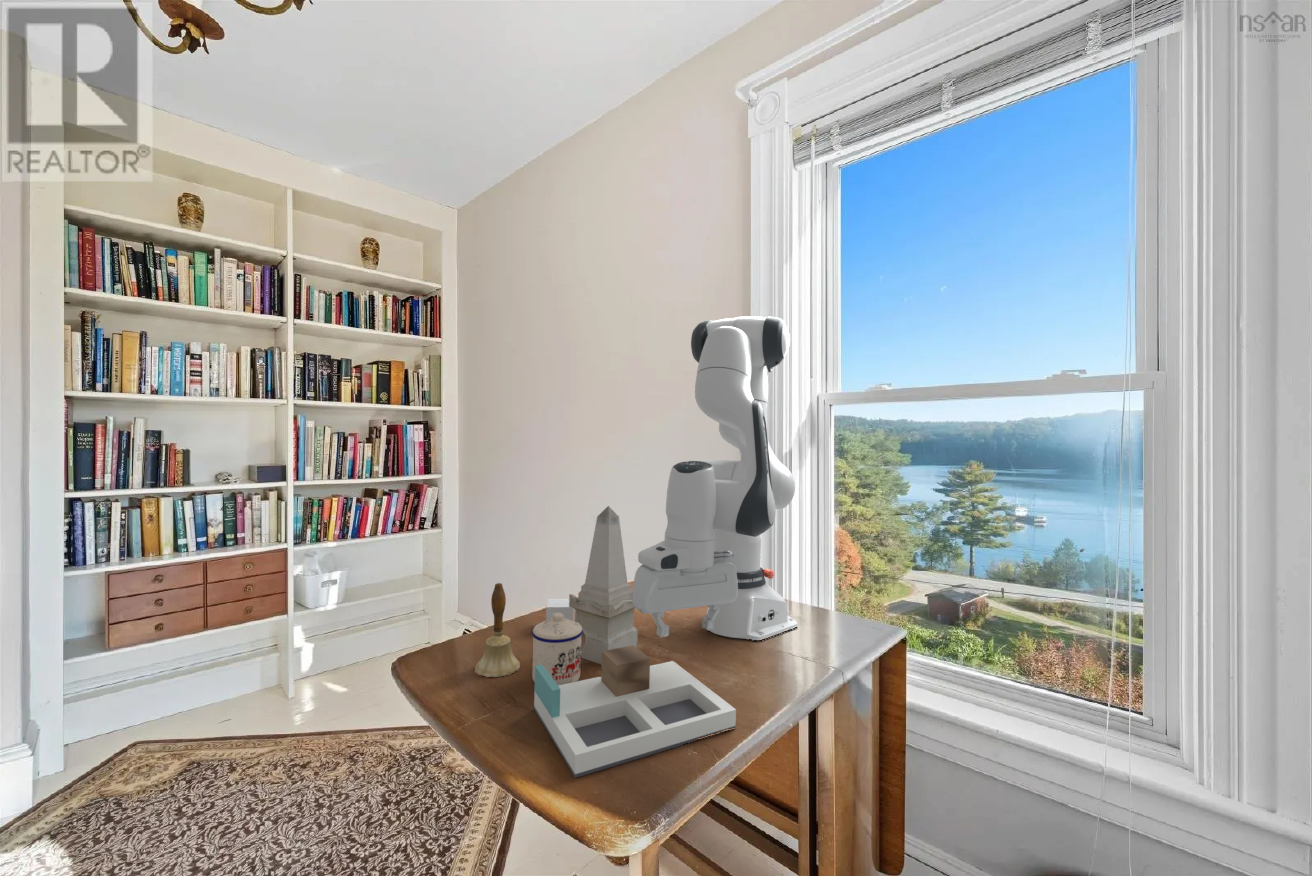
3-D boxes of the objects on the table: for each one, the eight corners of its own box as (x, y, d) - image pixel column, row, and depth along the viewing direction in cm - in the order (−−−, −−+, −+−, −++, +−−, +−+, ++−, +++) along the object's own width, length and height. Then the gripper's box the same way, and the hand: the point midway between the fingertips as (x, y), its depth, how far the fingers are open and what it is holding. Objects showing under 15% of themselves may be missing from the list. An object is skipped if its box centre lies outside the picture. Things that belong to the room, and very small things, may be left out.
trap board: (672, 677, 98) (673, 639, 98) (735, 728, 81) (736, 683, 81) (534, 709, 86) (535, 665, 85) (574, 778, 69) (576, 724, 69)
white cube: (547, 624, 123) (548, 598, 123) (573, 624, 124) (574, 598, 124) (545, 634, 117) (546, 607, 117) (573, 633, 118) (573, 606, 118)
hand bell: (515, 678, 96) (517, 590, 96) (468, 678, 95) (470, 590, 95) (523, 658, 104) (525, 577, 104) (480, 658, 104) (482, 577, 104)
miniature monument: (640, 650, 110) (644, 505, 109) (607, 668, 101) (612, 511, 101) (601, 638, 116) (605, 500, 115) (567, 654, 107) (571, 505, 106)
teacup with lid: (555, 695, 90) (557, 627, 90) (520, 679, 96) (521, 615, 95) (602, 670, 100) (604, 609, 100) (568, 657, 105) (570, 599, 105)
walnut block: (633, 673, 92) (633, 645, 92) (649, 688, 87) (650, 658, 87) (601, 680, 89) (601, 651, 89) (615, 696, 84) (616, 665, 84)
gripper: (725, 546, 101) (723, 619, 101) (629, 553, 91) (626, 633, 91) (746, 553, 96) (743, 630, 96) (647, 561, 86) (643, 646, 86)
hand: (685, 632), depth 93 cm, fingers open, 8 cm apart
